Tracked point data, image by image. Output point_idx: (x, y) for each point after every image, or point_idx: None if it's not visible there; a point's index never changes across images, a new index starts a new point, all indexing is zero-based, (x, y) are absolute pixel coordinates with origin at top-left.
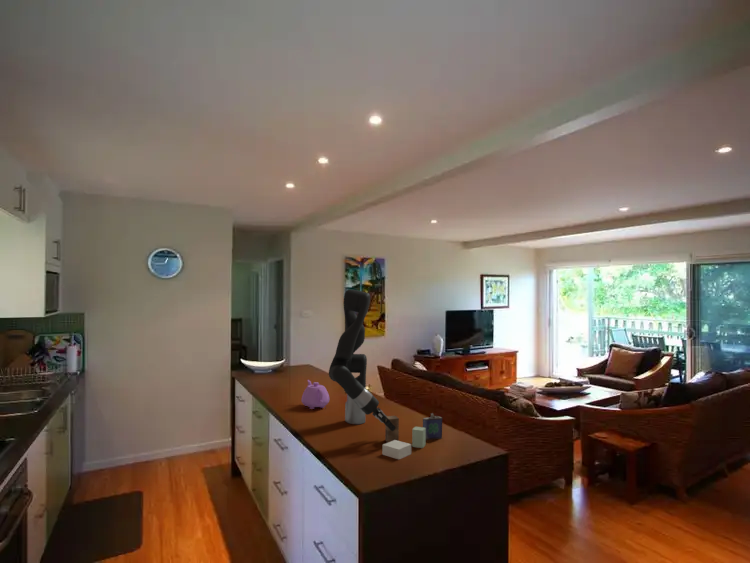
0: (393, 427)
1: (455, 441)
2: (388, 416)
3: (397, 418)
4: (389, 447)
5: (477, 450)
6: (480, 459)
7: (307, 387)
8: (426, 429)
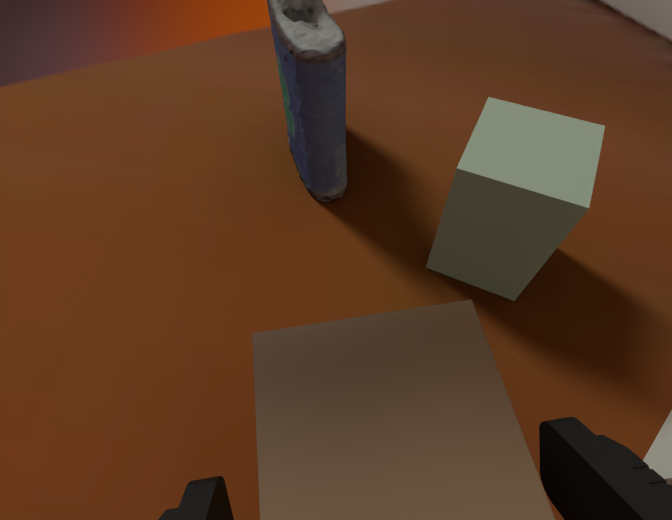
0: (635, 464)
1: (378, 65)
2: None
3: (472, 324)
4: None
5: (514, 22)
6: (646, 33)
7: None
8: (345, 122)
